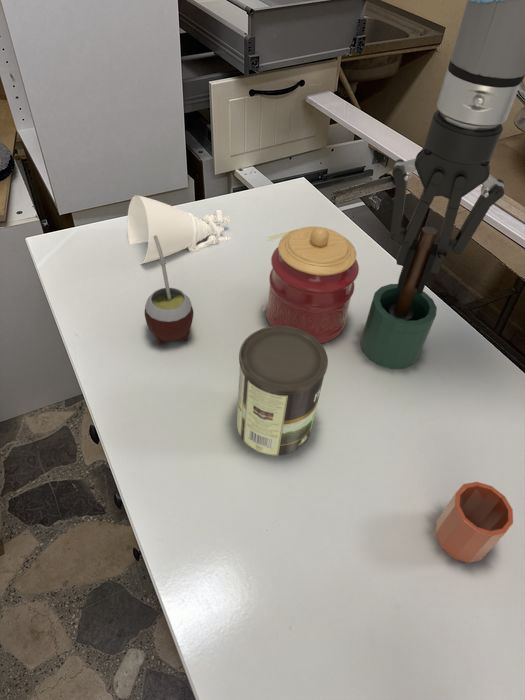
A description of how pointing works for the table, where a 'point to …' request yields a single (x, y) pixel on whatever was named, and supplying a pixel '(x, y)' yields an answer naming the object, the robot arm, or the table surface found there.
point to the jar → (396, 329)
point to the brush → (414, 275)
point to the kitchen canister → (312, 282)
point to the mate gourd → (168, 310)
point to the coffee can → (279, 388)
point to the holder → (483, 511)
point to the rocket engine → (171, 227)
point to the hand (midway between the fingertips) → (410, 285)
